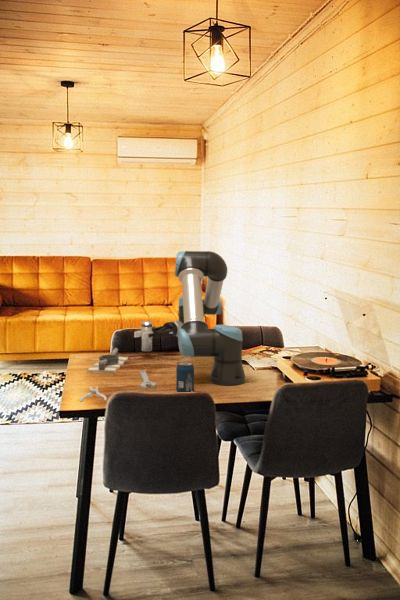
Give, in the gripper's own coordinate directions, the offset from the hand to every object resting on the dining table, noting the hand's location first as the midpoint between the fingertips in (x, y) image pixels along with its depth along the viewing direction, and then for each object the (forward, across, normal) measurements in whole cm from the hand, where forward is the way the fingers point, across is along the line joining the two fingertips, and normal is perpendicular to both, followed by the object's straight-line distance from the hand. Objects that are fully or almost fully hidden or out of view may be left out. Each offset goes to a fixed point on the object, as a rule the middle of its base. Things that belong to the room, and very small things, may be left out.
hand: (138, 335), depth 275 cm
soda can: (+23, -52, -12) cm, 58 cm away
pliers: (+49, -28, -13) cm, 58 cm away
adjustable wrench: (+21, -28, -13) cm, 38 cm away
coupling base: (+17, +2, -12) cm, 21 cm away
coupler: (-5, 0, -8) cm, 10 cm away
